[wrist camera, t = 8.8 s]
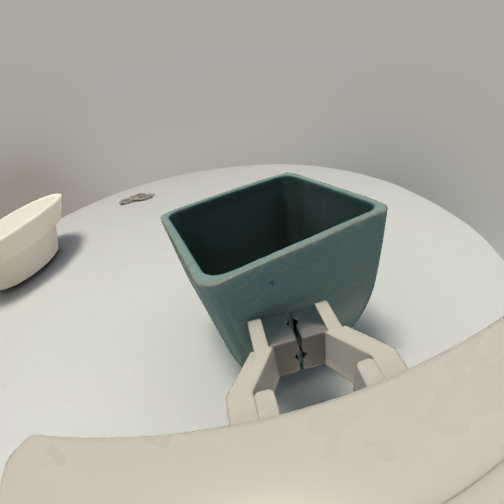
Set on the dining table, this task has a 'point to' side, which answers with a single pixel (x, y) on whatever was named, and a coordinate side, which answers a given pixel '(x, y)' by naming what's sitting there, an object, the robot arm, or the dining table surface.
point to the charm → (136, 198)
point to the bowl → (28, 239)
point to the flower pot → (278, 252)
